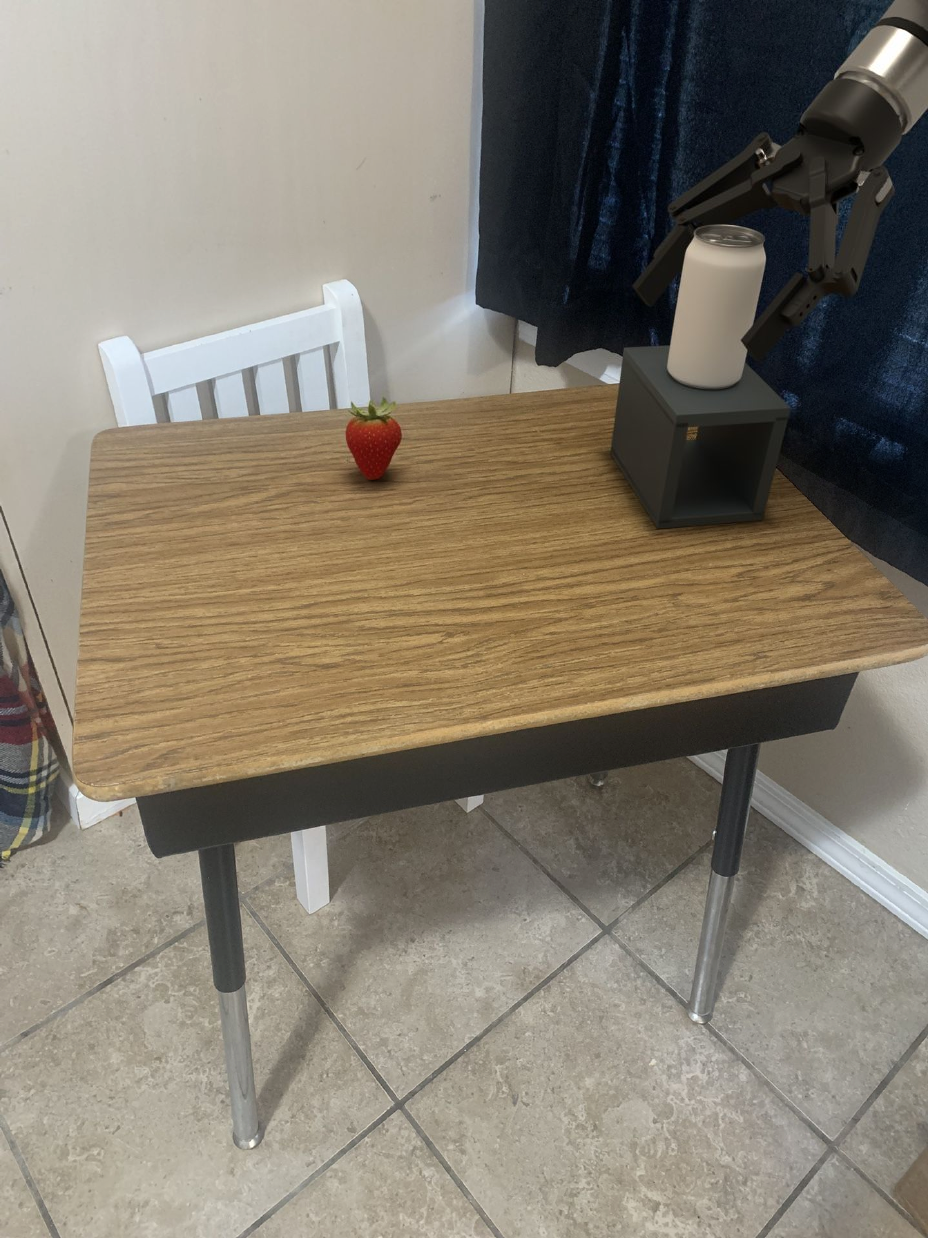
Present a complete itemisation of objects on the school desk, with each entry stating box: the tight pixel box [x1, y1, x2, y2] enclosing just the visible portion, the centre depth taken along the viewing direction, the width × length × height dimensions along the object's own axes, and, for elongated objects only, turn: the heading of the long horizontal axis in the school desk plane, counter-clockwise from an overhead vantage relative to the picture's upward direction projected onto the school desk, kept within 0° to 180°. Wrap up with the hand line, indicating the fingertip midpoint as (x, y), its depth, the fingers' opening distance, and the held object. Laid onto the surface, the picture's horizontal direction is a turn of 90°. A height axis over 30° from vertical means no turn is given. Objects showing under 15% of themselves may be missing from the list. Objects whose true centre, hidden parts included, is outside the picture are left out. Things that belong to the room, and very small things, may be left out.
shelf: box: [610, 344, 792, 530], centre depth 89 cm, size 14×10×11 cm
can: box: [667, 224, 767, 390], centre depth 82 cm, size 6×6×12 cm
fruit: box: [345, 396, 403, 481], centre depth 90 cm, size 5×5×8 cm
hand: (692, 322), depth 82 cm, fingers open, 13 cm apart
